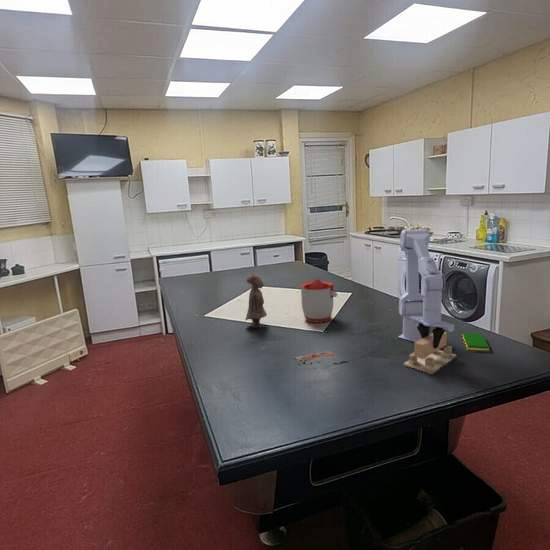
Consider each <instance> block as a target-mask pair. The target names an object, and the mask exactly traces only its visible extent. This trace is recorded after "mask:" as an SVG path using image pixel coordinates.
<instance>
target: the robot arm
mask: <svg viewBox="0 0 550 550" xmlns="http://www.w3.org/2000/svg"><path fill="white" fill-rule="evenodd" d="M399 238H400V239H399V246H400V247H399V248H400V250H401V251H402V252H404V256H405V280H406V281H405V283H406V284H405V286H406V289H405V290H406V292H405V293H403V294H402V295H401V296H400V297H399V299H398V300H399V303H398V312H399V315H400V316H401V317H402V334H400V335H398V338H400V339H403V340H405V341H409V342H413V343H415V342H417V341H419V340H421V339H423V338H424V337H426V336H428V335H430V327H431V328H432V333H433V337H434V344H433V347H434V348H435V349H436V348H438V346H439V342H440V340H441V337H442V335H443V334H444V332H449V333H452V332H453V331H454V330H455V325H454V324H453V323H448V322H446V321H443V320H442V301H443V300H442V298H443V296H442V295H443V291H444V290H445V288H446V278H445V275H444V273H442V272H441V271H439V269H438V266H437V263H436V261H435V259H434V258H433V257H431V256H430V251H429V249H428V247H429V243H430V241H431V235H430V231H429V229H428V228H424V229H421V228H420V229H402V230H401V232H400V236H399ZM419 273H420V275H419ZM419 276H420V277H421V281H419V280H420V278H419ZM420 282H421V293H420ZM433 328H434V329H433Z"/></svg>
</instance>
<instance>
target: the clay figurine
mask: <svg viewBox="0 0 550 550" xmlns="http://www.w3.org/2000/svg"><path fill="white" fill-rule="evenodd" d="M246 282H247V283H248V284H249V285H251V289H250V291H249V296H248V308H247V311H246V317H245V321H247V320H251V321H252V322H251V323H250V325H251V328H260V329H261V328H262V323H261V322H260V321H261V319H263V318H265V317H267V315H268V314H267V312H266V310H265V308H264V303H265V300H264V297H263V292H262V290H261V289H262V288H263V287H264V286H265V284H264V282H263V278H262V277H260V275H259V274H257V273H250V274H249V275H248V276H247V277H246Z"/></svg>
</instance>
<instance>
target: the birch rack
mask: <svg viewBox="0 0 550 550" xmlns="http://www.w3.org/2000/svg"><path fill="white" fill-rule="evenodd" d="M452 349H453V348H452V346H449V345H446V346H444V347H443V350H441V349H439V350H437V351H435V352H434V353H432V354H430V355H429V356H427V357H425V358H423V359H420V358H417V357H414V351H413V352H412V353H409V355H408V359H407V361H405V362H404V363H403V366H404V365H405V366H404V367H406V366H408V367H407V368H409V367H411V368H410V369H412V368H415V369H417V370H416V371H418V370H420V371H419V372H421V371H423V372H422V373H424V372H427V373H430V374H432V373H433V374H435V373H436V372H437V371H436V370H438V369H439V368H440V367H442V366H443V365H445V364H446V363H448V362H449V361H450V362H452V361H453V360H454V359H453V358H455V357H456V358H457V354H455V353H452ZM456 358H455V359H456ZM452 359H453V360H452ZM451 360H452V361H451ZM450 362H449V363H450ZM449 363H448V364H449ZM446 365H447V364H446ZM446 365H445V366H446ZM443 367H444V366H443ZM443 367H442V368H443ZM415 369H414V370H415ZM439 370H440V369H439ZM439 370H438V371H439ZM435 371H436V372H435ZM434 372H435V373H434ZM427 373H426V374H427ZM430 374H429V375H430ZM433 374H432V375H433Z"/></svg>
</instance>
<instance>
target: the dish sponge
mask: <svg viewBox="0 0 550 550" xmlns="http://www.w3.org/2000/svg"><path fill="white" fill-rule="evenodd" d="M461 336H463V338H462V340H463V339H464V341H465V343H464V345H465V344H466V346H465V348H466V347H467V348H466V350H467V349H470V350H489V351H490V346H489V344H488V342H487V340H486V338H485V337H484V336H485V335H484V334H483V333H475V332H474V333H473V332H472V333H471V332H462V335H461ZM464 341H463V342H464Z"/></svg>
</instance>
